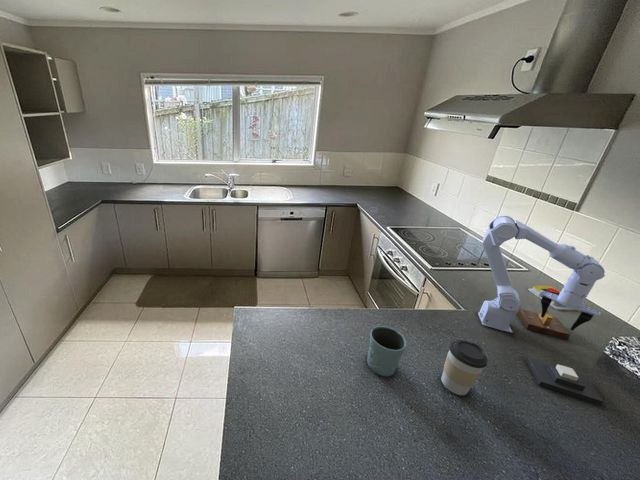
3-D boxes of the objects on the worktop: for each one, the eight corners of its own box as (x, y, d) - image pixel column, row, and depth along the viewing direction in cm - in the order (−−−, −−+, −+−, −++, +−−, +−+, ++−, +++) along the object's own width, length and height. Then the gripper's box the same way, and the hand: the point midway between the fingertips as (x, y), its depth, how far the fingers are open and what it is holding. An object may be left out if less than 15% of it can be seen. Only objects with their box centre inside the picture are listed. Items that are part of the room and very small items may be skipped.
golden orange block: (548, 325, 108) (553, 317, 106) (543, 324, 108) (547, 316, 107) (543, 317, 112) (547, 310, 110) (538, 316, 112) (542, 308, 111)
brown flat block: (526, 328, 109) (529, 323, 108) (517, 313, 118) (519, 308, 117) (567, 339, 105) (570, 334, 104) (554, 322, 113) (557, 317, 112)
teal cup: (402, 367, 91) (411, 339, 86) (388, 385, 85) (397, 356, 80) (373, 347, 98) (380, 321, 93) (358, 363, 92) (364, 335, 87)
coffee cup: (455, 402, 80) (473, 364, 75) (430, 375, 88) (444, 339, 83) (479, 394, 83) (498, 357, 77) (452, 369, 91) (467, 333, 85)
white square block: (560, 376, 86) (563, 372, 85) (554, 367, 89) (557, 363, 88) (576, 381, 84) (578, 377, 84) (569, 372, 88) (572, 368, 87)
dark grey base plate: (538, 385, 86) (543, 377, 85) (526, 361, 95) (530, 353, 93) (600, 405, 81) (607, 397, 80) (581, 378, 89) (587, 370, 88)
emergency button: (550, 282, 133) (584, 302, 119) (546, 289, 134) (579, 310, 120) (530, 281, 133) (562, 301, 119) (526, 289, 134) (557, 310, 120)
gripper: (608, 298, 92) (588, 330, 97) (548, 277, 102) (533, 307, 108) (606, 306, 88) (585, 338, 93) (544, 283, 99) (528, 314, 104)
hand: (557, 322), depth 100 cm, fingers open, 7 cm apart
